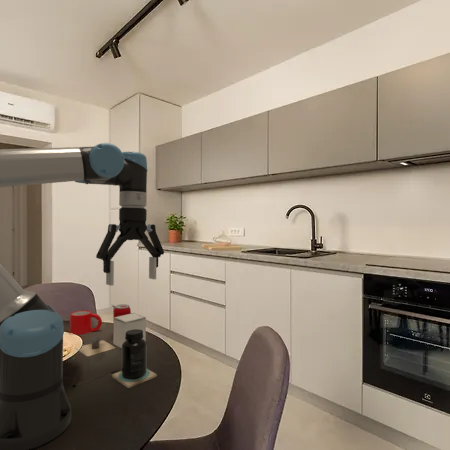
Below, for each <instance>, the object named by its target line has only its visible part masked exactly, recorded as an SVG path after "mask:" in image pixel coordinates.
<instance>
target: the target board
mask: <svg viewBox="0 0 450 450" xmlns="http://www.w3.org/2000/svg"><path fill="white" fill-rule="evenodd" d="M157 376H158V375H157V373H156V372H153V371H151V370H150V369H149V368H147V371H146V374H145V375H144V376H142V377H140V378H136V379H126V378H124V377H123V376H122V370H121V371H118V372H115V373H113V374H111V378H112V379H114V380H115V381H117V382H119V383H120V384H121V385H123V386H124V387H125V388H127V389H129V388H132V387H134V386H138V385H139V384H142V383H144V382H147V381H150V380H153V379H154V378H157Z"/></svg>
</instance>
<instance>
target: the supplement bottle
mask: <svg viewBox="0 0 450 450" xmlns="http://www.w3.org/2000/svg"><path fill="white" fill-rule="evenodd" d="M142 338H143V330H140V329H133V330H129V331H127V332H126V334H125V340H126V341H125V342H124V343H123V344H122V348H121V371H122V376H123V377H124V378H126V379H136V378H140V377H142V376H144V375H145V374H146V371H147V369H148V367H147V363H148V362H147V354H148V353H147V350H148V348H147V345H148V344H147V340H146V341H145V340H144V339H142Z"/></svg>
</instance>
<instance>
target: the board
mask: <svg viewBox="0 0 450 450" xmlns="http://www.w3.org/2000/svg"><path fill="white" fill-rule="evenodd" d="M81 346H82V348H81V349H80V350H79V351H78V352H80V353H81V354H83V355H85V356H86V357H91V356H94V355H97V354H100V353H103V352H106V351H108V352H109V351H111V350H114V349H117V346H115V345H112V344H111V343H109V342H107V341H105V340H100V334H94V335H92V336H91V343H89V344H85V345H81Z"/></svg>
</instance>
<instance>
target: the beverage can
mask: <svg viewBox="0 0 450 450" xmlns="http://www.w3.org/2000/svg"><path fill="white" fill-rule="evenodd" d="M131 310H132V309H131V307H130V305H129V304H124V303H123V304H117V305H115V306H114V309H113V313H112V314H113V317H112V318H113V323H112V324H113V325H112V326H113V327H112V329H113V334H112V335H113V336H114V317H118V316H122V315H127V314H131V312H132V311H131ZM113 336H112V337H113Z"/></svg>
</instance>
